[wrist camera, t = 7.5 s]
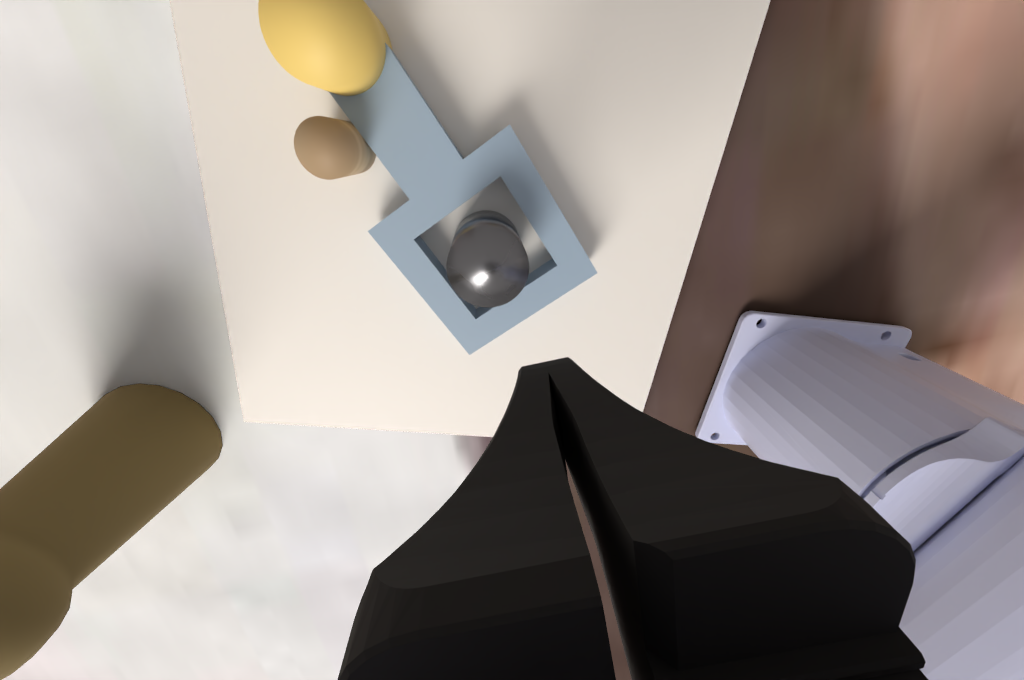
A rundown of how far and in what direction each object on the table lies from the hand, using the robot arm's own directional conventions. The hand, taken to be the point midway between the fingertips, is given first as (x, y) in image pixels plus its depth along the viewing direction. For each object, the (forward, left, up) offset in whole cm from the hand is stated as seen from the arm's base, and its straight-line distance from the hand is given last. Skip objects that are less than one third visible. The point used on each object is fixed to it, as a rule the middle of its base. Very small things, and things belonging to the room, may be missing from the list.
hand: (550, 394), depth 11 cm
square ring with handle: (+4, -4, -8) cm, 10 cm away
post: (+2, -2, -10) cm, 10 cm away
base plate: (+3, -3, -10) cm, 10 cm away
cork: (+18, +10, -10) cm, 23 cm away
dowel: (+7, -5, -10) cm, 13 cm away
